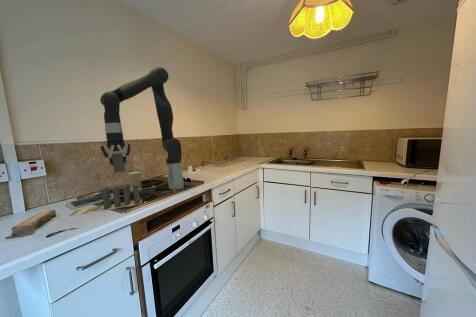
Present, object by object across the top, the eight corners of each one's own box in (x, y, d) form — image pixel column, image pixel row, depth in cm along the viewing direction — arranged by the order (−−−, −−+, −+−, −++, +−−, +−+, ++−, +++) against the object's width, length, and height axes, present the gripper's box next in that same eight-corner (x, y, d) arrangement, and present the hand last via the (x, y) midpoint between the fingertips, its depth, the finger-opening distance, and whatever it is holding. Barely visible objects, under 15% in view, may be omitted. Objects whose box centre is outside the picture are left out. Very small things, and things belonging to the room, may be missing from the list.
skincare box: (130, 192, 124) (127, 173, 123) (131, 190, 128) (129, 172, 127) (140, 190, 126) (138, 172, 124) (142, 189, 130) (140, 171, 128)
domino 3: (121, 203, 100) (118, 185, 99) (119, 206, 96) (116, 187, 94) (117, 204, 100) (114, 185, 98) (114, 207, 95) (111, 188, 94)
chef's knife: (105, 218, 86) (101, 217, 88) (104, 216, 86) (101, 214, 87) (48, 240, 70) (45, 238, 71) (48, 237, 69) (44, 235, 71)
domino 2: (114, 172, 103) (112, 153, 101) (125, 171, 105) (122, 153, 103) (114, 172, 101) (111, 154, 100) (125, 171, 103) (122, 153, 102)
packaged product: (36, 223, 74) (2, 228, 71) (39, 234, 74) (5, 240, 71) (62, 206, 91) (35, 210, 88) (64, 216, 91) (37, 220, 88)
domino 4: (130, 202, 102) (128, 183, 101) (129, 205, 97) (126, 186, 96) (126, 202, 101) (124, 184, 100) (125, 205, 97) (122, 186, 95)
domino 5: (140, 200, 103) (137, 182, 102) (139, 203, 99) (136, 184, 98) (136, 201, 103) (133, 183, 101) (135, 204, 98) (132, 185, 97)
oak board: (142, 201, 105) (142, 199, 105) (141, 205, 98) (141, 203, 98) (75, 212, 95) (75, 209, 94) (68, 218, 87) (68, 216, 87)
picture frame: (109, 195, 121) (66, 206, 106) (108, 191, 121) (65, 201, 105) (118, 200, 111) (72, 212, 96) (117, 195, 111) (71, 207, 95)
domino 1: (111, 205, 99) (108, 186, 97) (108, 208, 94) (105, 189, 93) (106, 205, 98) (103, 187, 97) (104, 209, 93) (101, 189, 92)
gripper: (130, 131, 106) (134, 161, 109) (99, 132, 101) (104, 164, 103) (129, 131, 100) (133, 163, 102) (95, 132, 94) (101, 166, 96)
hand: (118, 163), depth 102 cm, fingers closed on domino 2, 5 cm apart
